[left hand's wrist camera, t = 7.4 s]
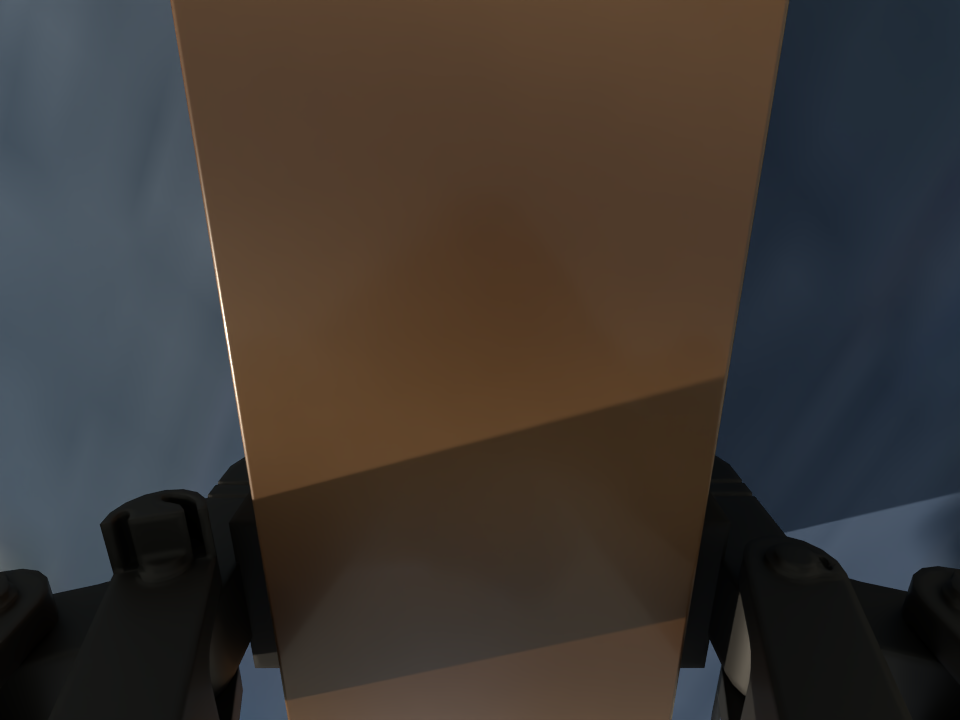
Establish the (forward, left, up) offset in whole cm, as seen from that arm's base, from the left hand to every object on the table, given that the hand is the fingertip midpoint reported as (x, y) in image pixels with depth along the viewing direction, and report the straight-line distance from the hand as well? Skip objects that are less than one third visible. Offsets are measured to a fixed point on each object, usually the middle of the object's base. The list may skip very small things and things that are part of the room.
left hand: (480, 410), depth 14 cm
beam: (+24, +10, -1) cm, 26 cm away
